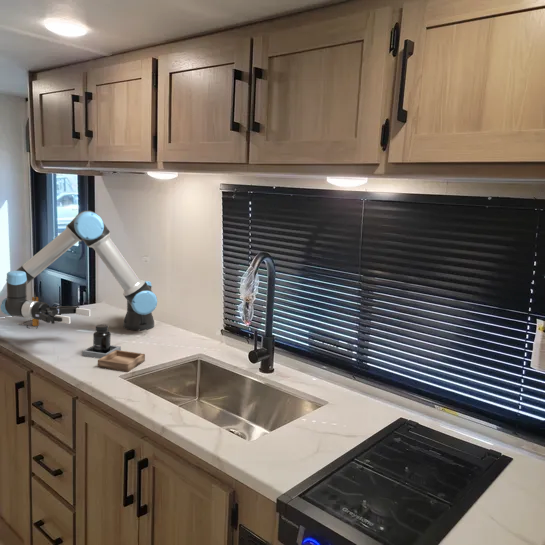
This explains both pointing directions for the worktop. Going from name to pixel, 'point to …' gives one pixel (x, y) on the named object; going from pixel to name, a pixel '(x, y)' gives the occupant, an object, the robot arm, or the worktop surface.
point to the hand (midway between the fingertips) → (80, 316)
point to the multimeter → (34, 321)
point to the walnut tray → (121, 360)
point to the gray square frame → (90, 353)
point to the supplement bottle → (101, 339)
